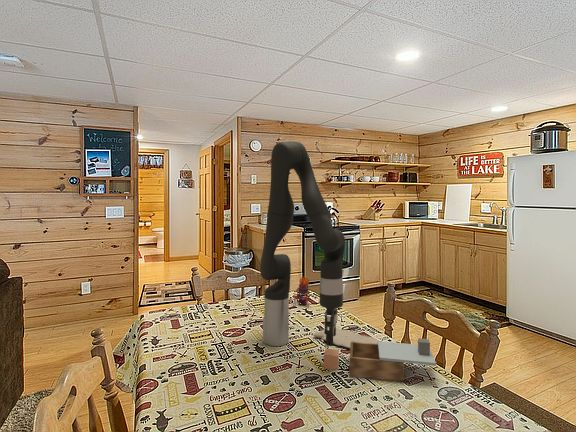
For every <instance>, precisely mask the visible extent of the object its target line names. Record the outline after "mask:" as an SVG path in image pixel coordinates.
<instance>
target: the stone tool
mask: <svg viewBox="0 0 576 432" xmlns="http://www.w3.org/2000/svg"><path fill="white" fill-rule="evenodd" d="M328 330H329V327H328ZM324 331H325V328H324V329H322V330H319V331H318V332H314V333H313V337H314V338H320V339H321V340H323V341H325V342H326V334H325V333H324ZM378 341H380V340H379V339H377V338H375V337H373V336H367V335H363V334H359V333H356V331H355V332H354V331H352V330H348V329H340V328H336V335H335V336H333V345H335V346H340V347H341V346H342V347H344V348H348V349H350V345H351V342H362V343H373V344H378Z"/></svg>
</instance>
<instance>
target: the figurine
mask: <svg viewBox="0 0 576 432" xmlns="http://www.w3.org/2000/svg"><path fill="white" fill-rule="evenodd" d="M309 284H310V278H309V276H306V275H304V276H303V277H301V278H300V279H299V284H298V287H297V288H296V295H293V297H292V298H293V302H292V303H291V304H292V305H296V304H297V303H298V305H299V306H304V305H306V306H307V307H309V306H310V303H309V300H310V296H311V294H310V290H309ZM304 295H305V296H304ZM300 303H301V304H300Z"/></svg>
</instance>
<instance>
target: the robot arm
mask: <svg viewBox="0 0 576 432" xmlns="http://www.w3.org/2000/svg"><path fill="white" fill-rule="evenodd" d="M271 151H272V152H271V156H270V157H271V158H270V188H269V200H268V207H267V216H266V225H265V226H266V227H265V235H264V236H265V237H264V243H263V247H262V252H261V257H260V262H259V263H260V266H259V273H260V276H261V278H262V279H263V280H264V281H274V280H275V281H276V282H274V283H273V284H271V285H270V286H267V287H266V288H265V289H264V301H263V302H264V303H263V304H264V306H263V307H264V308H263V309H264V313H263V314H264V315H263V316H264V317H262V343H263V344H266V345H268V346H271V347H281V346H285V345H287V344H288V343H289V337H290V334H289V331H290V330H289V329H290V328H289V327H290V326H289V325H290V316H289V315H290V314H289V311H290V307H289V305H290V300H289V299H290V298H289V297H290V289H291V273H292V272H291V271H292V269H291V268H292V264H291V259H290V257H289V255H288V254H284V253H283V254H282V253H279V254H278V253H277V254H275V252H276V250H277V248H278V246H279V244H280V243H281V241H282V240H283V239H284V237H286V235H287V234H288V233H289V231H290V229H291V228H292V225H293V221H294V215H295V214H294V213H295V204H294V200H293V198H292V195H291V191H290V189H289V179H290V172H291V170H294V172H295V173H296V175H297V176H298V180H299V181H300V183H299V184H300V190H301V193H300V194H301V203H302V207H303V209H304V211H305V213H306V216H307V218H308V220H309V221H310V223H311V226H312V227H311V228H312V231H313V235H314V238H315V241H316V243H317V245H318V247H319V248H320V249H321V250H322V251H323V252H324V253H323V254H324V255H323V259H322V260H321V262H320V277H319V278H320V279H319V305H320V307H322V308H325V312H324V314H323V315H324V322H323V325H324V329H325V331H324V333H325V334H326V341H325V346H327V347H333V346H334V343H333V336H335V335H336V329H337V322H338V317H339V316H338V315H339V312H338V309H340V308H342V307H343V305H344V281H343V262H344V261H343V260H344V256H345V251H346V249H345V248H346V237H345V235H344V233H343V232H342V230H340V229H338V228H334V227H333V224H332V222H331V219H332V213H331V211H330V209H329V208H328V205H327V204H326V201H325V200H324V197H323V195H322V193H321V191H320V188H319V186H318V182H317V180H316V176H315V173H314V170H313V166H312V164H311V161H310V158H309V154H308V151H307V149H306V147H305V145H304V144H303V143H301V142H300V141H295V140H294V141H292V140H291V141H279V142H277V143H276V144H275V145H274V146H273V148H272V150H271ZM328 327H329V330H328Z"/></svg>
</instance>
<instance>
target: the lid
mask: <svg viewBox="0 0 576 432" xmlns="http://www.w3.org/2000/svg"><path fill="white" fill-rule="evenodd" d="M378 350H379V359H380V360H383V361H393V362H403V363H404V364H405V363H406V364H416V365H424V366H437V361H436V360H435V357H434V355H433V352H432V350H431V341H430V340H429V338H421V337H419V338H417V344H415V343H403V342H392V341H381V340H379V341H378Z"/></svg>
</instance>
